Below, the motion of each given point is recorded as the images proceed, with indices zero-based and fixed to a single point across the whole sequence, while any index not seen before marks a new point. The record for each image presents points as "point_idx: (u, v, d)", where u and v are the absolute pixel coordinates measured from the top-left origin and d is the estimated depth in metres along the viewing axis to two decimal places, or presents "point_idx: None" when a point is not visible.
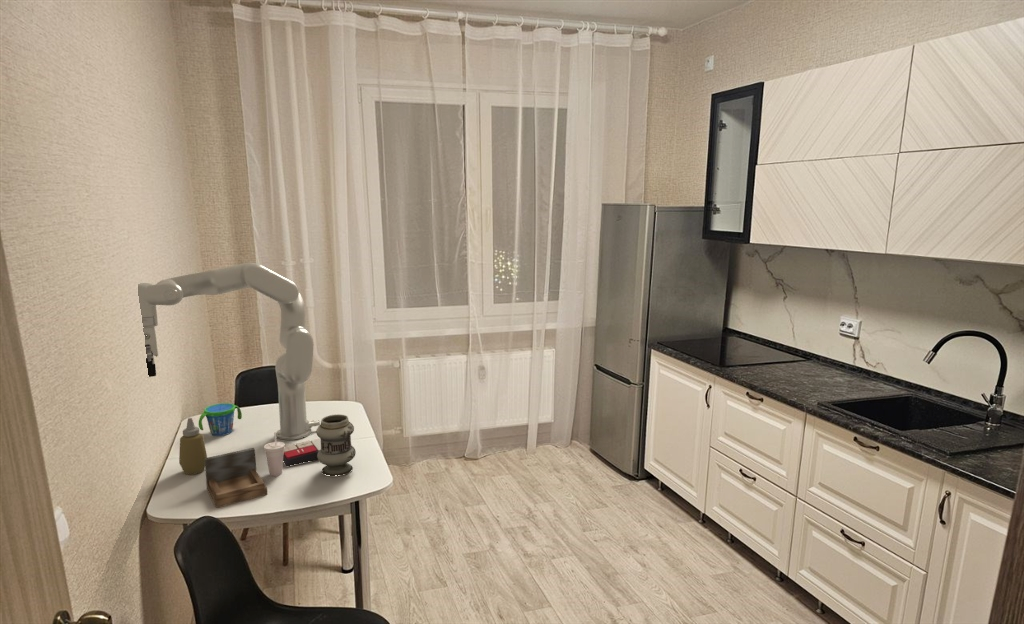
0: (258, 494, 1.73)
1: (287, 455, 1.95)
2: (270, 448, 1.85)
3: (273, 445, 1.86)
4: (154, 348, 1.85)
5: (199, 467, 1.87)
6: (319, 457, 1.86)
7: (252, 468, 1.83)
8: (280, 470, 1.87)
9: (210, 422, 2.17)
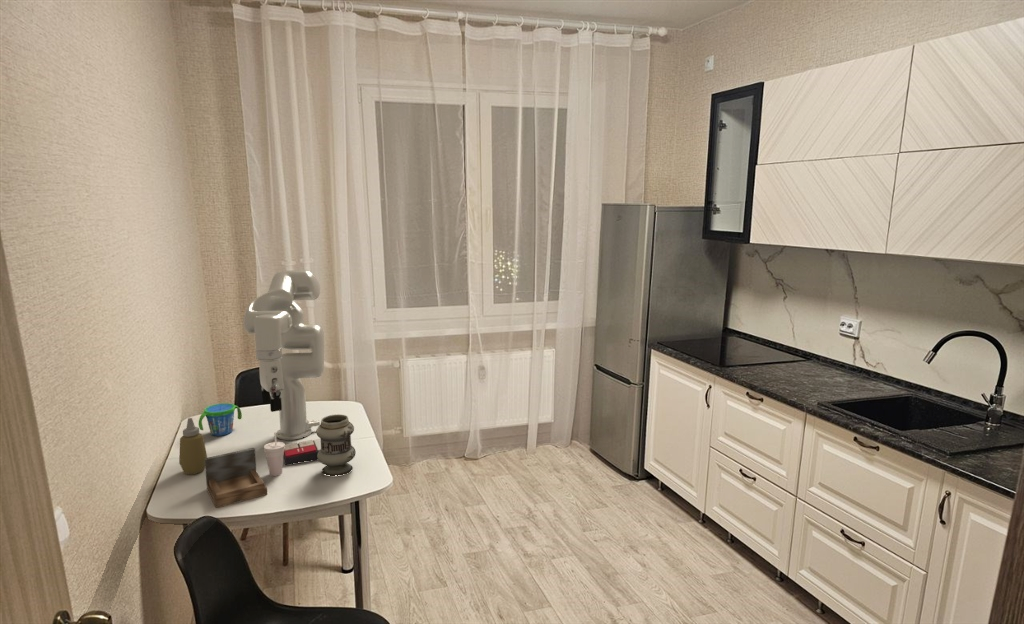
0: (258, 494, 1.73)
1: (286, 454, 1.96)
2: (270, 448, 1.85)
3: (273, 445, 1.86)
4: (280, 381, 1.80)
5: (199, 467, 1.87)
6: (319, 457, 1.86)
7: (252, 468, 1.83)
8: (280, 470, 1.87)
9: (210, 422, 2.17)
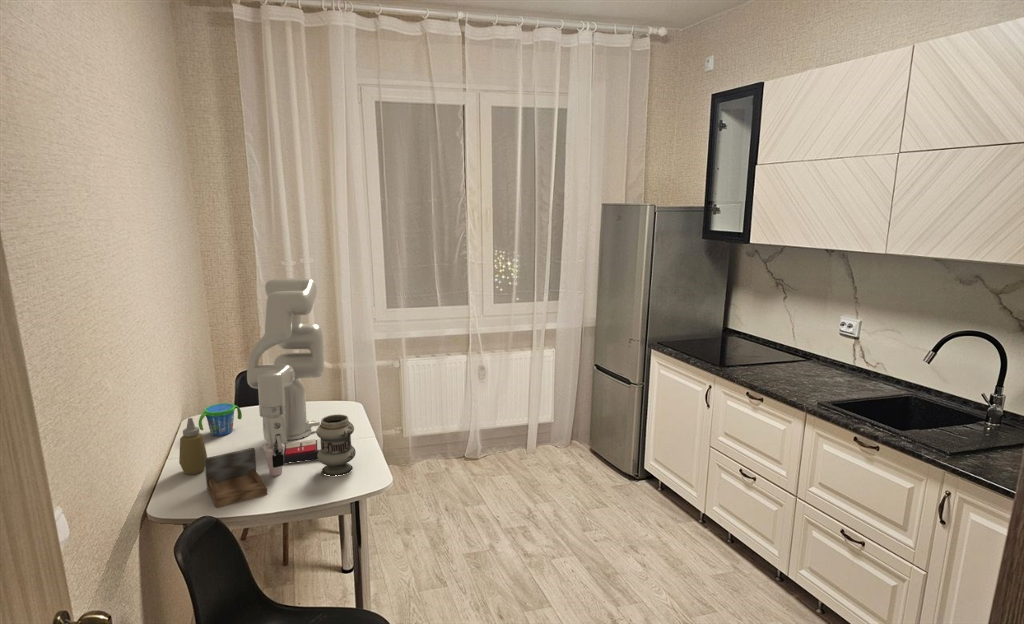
0: (258, 494, 1.73)
1: (286, 452, 1.97)
2: (270, 448, 1.85)
3: None
4: (284, 437, 1.83)
5: (199, 467, 1.87)
6: (319, 457, 1.86)
7: (252, 468, 1.83)
8: (280, 470, 1.87)
9: (210, 422, 2.17)
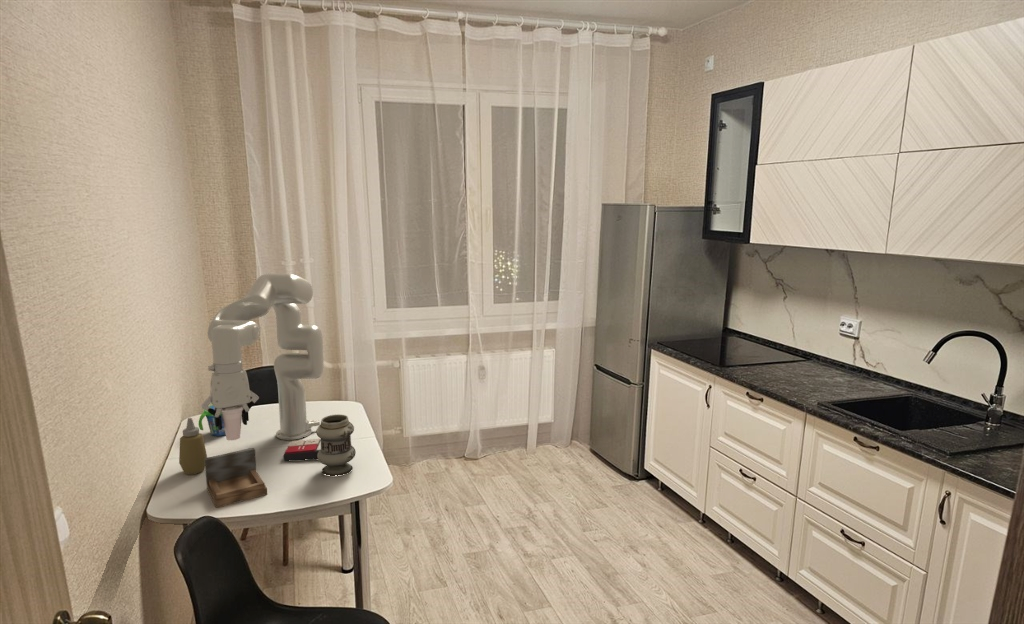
0: (258, 494, 1.73)
1: (287, 450, 1.99)
2: None
3: None
4: (212, 398, 1.66)
5: (199, 467, 1.87)
6: (319, 457, 1.86)
7: (252, 468, 1.83)
8: (227, 435, 1.71)
9: (210, 422, 2.17)
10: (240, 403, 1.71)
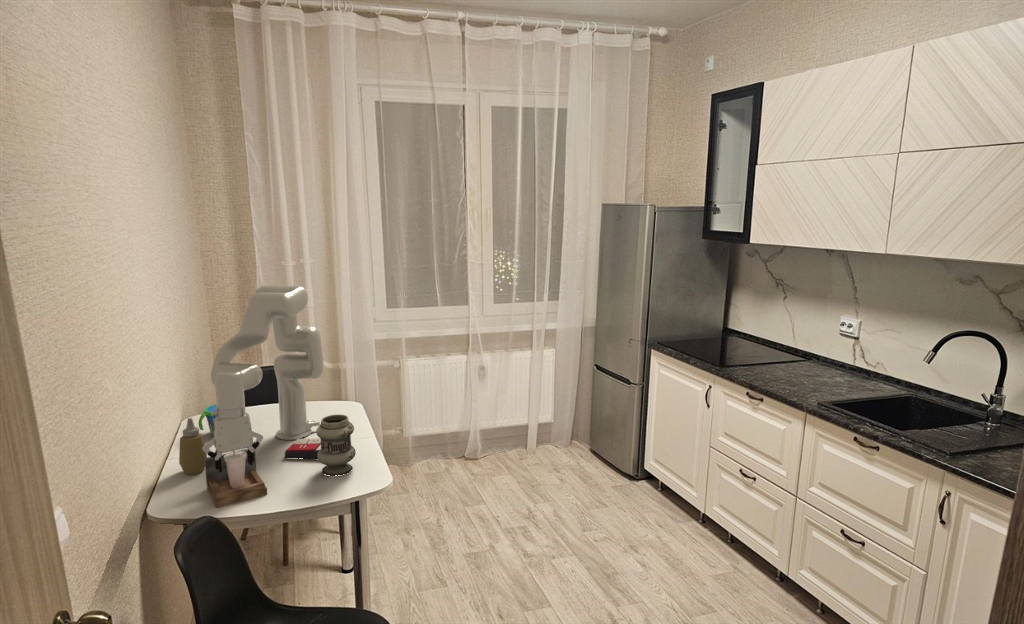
0: (258, 494, 1.73)
1: (289, 448, 2.01)
2: (228, 454, 1.75)
3: None
4: (215, 443, 1.69)
5: (199, 467, 1.87)
6: (319, 457, 1.86)
7: (252, 468, 1.83)
8: (231, 482, 1.74)
9: (210, 422, 2.17)
10: (243, 447, 1.73)
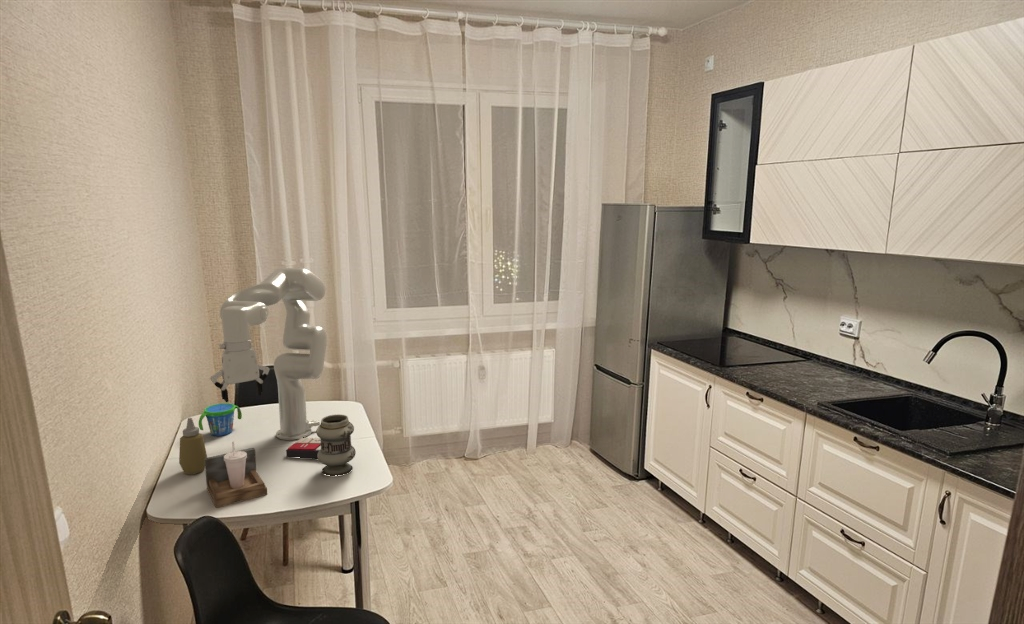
0: (258, 494, 1.73)
1: (291, 446, 2.02)
2: (228, 454, 1.75)
3: None
4: (224, 375, 1.78)
5: (199, 467, 1.87)
6: (319, 457, 1.86)
7: (252, 468, 1.83)
8: (231, 482, 1.74)
9: (210, 422, 2.17)
10: (250, 379, 1.82)
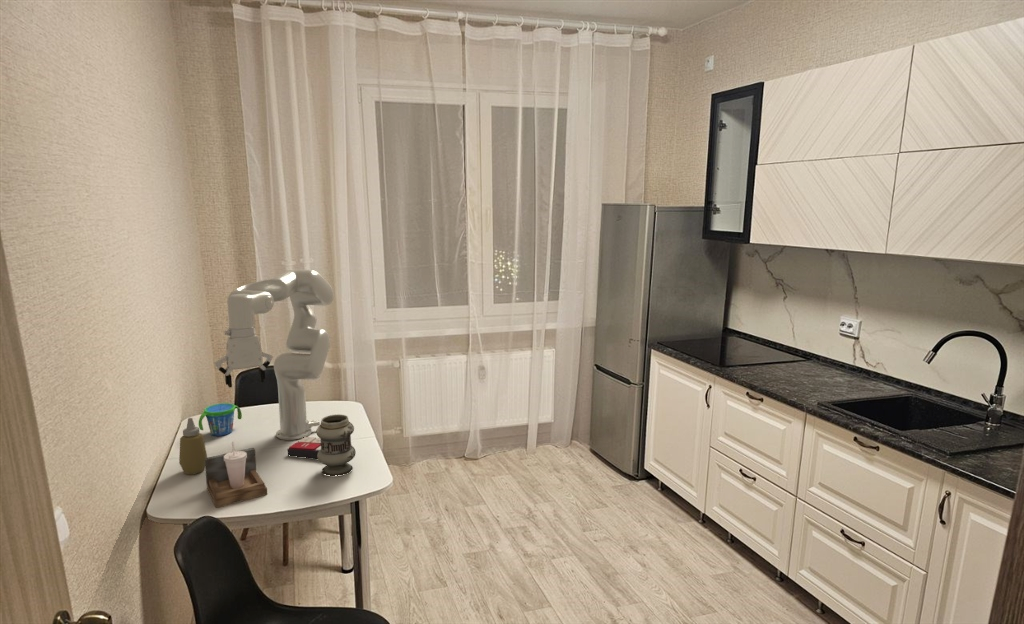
0: (258, 494, 1.73)
1: (292, 445, 2.03)
2: (228, 454, 1.75)
3: None
4: (228, 360, 1.83)
5: (199, 467, 1.87)
6: (319, 457, 1.86)
7: (252, 468, 1.83)
8: (231, 482, 1.74)
9: (210, 422, 2.17)
10: (253, 365, 1.88)
